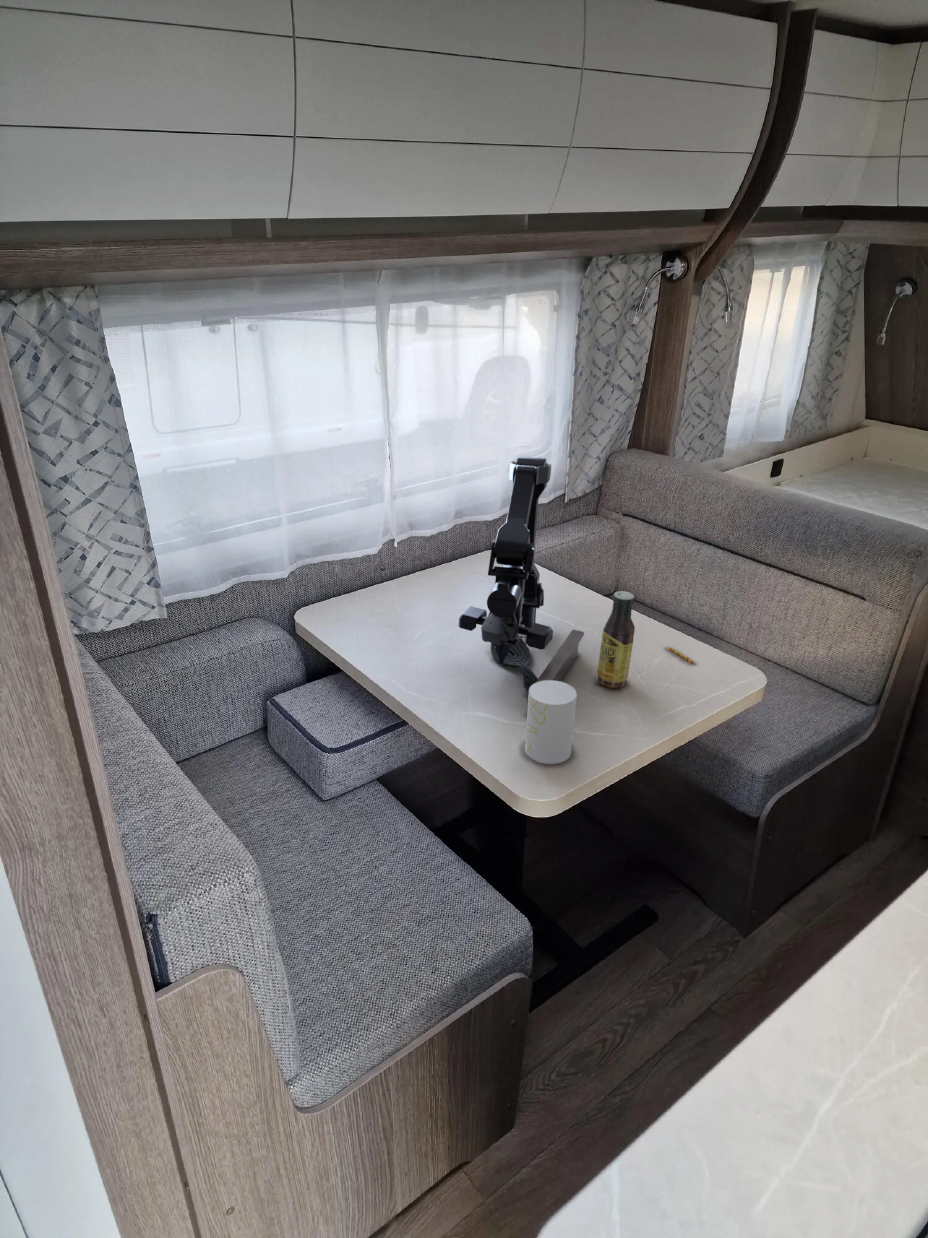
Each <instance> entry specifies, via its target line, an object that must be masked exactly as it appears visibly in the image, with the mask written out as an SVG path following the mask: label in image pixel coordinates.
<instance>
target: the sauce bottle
mask: <svg viewBox="0 0 928 1238" xmlns="http://www.w3.org/2000/svg"><path fill="white" fill-rule="evenodd" d="M612 602H613V603H612V610H611V613H610V615H609V617H608V618H607V621H606V623H605V625H604V627H603V628H602V633H601V634H602V635H601V642H600V648H599V656H598V664H597V671H596V673H597V677H596V678H597V682H598V683H599V684H600V685H602V686H604V687H606V688H609V689H618V688H622V687H624V686H625V685H626V684H627V681H628V676H629V673H630V672H629V671H630V666H631V665H630V663H631V659H632V658H631V657H632V651H633V647H634V646H633V645H634V636H635V632H636V631H635V630H636V628H635V623H634V621H633V619H632V611H633V605H634V603H635V595H634V594H633V593H632V592H629V591H626V590H625V591H624V590H619V591H616V592H614V593H613V596H612Z"/></svg>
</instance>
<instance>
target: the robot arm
mask: <svg viewBox="0 0 928 1238" xmlns="http://www.w3.org/2000/svg"><path fill="white" fill-rule="evenodd" d="M551 475H552V464H551V463H547V458H546V457H533V456H532V457H530V456H520V455H519V456H517V459H516V460H515V461H514V460H512V461H511V462H509V473H508V480H509V481H510V482H512V489H511V490H512V491H511V495H510V500H509V505H508V510H507V516H506V520H505V522H504V523H503V524H502V525H501V526H500V527H499V528H498V530H497V534H496V537H495V539H493V540H492V543H491V549H490V555H489V556H490V557H489V564H488V571H487V576H490V577H495V580H494V583H493V586H492V588H491V589H490V593H489V594H488V596H487V599H486V606H487V609H488V611H489V612H487V609H482V608H479V607H475V606H473V605H472V606H469V607H468V608H467V609H466V610H465V611H464V612H463V613H461V614H460V615H459V618H458V628H459V629H462V630H466V631H470V632H472V631H474V630H475V629H476V628H477V625H479V626H481V627H480V631H481V639H482V641H484V642H485V643H490V644H491V643H494V645H495V648H496V651H497V655H498V658H499V661H500V664H503V663H504V660H505V658H506V656H507V654H508V652H509V650H510V648H511V646H512V645H516V644H517V643H518V642H519V641H520V639H523V637H524V638H525V641H524V642H525V643H526V645H527V647H528V648H534V649H537V650H545V649H546V648H547V646H548V645H549V644H550V642H551V641H552V640H553V636H554V630H553V628H552V627H551V626H549V625H545V624H541V623H537V622H536V620H537V619H536V617H537V609H540V607H543V606H544V604H545V591H544V590H545V589H544V588H543V584H542V582H540V577H541V575H540V574H541V573H540V572H539V570H538V568H537V566H536V564H535V562H534V561H535V553H536V537H537V524H538V511H539V499H540V497H541V495H542V494H543V492H544V490H546V488H547V486H548V483H549V482H550V480H551V477H552V476H551ZM495 562H496V564H497V565H501V566H497V565H495ZM500 664H499V665H500Z"/></svg>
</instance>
